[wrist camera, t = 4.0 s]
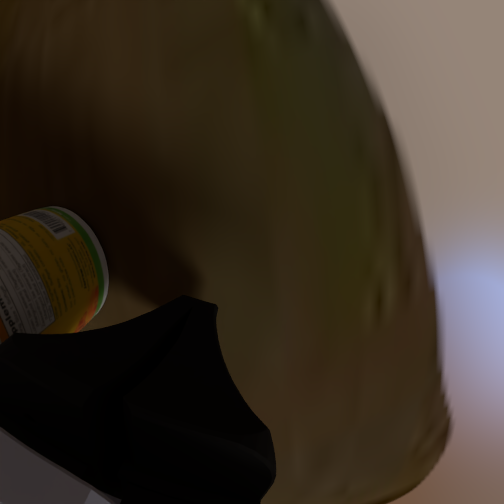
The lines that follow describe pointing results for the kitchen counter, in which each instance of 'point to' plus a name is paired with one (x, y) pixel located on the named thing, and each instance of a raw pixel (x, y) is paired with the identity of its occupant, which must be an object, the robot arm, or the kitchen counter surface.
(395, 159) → the kitchen counter surface
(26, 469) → the robot arm
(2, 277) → the supplement bottle
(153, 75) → the kitchen counter surface
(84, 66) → the kitchen counter surface
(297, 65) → the kitchen counter surface
